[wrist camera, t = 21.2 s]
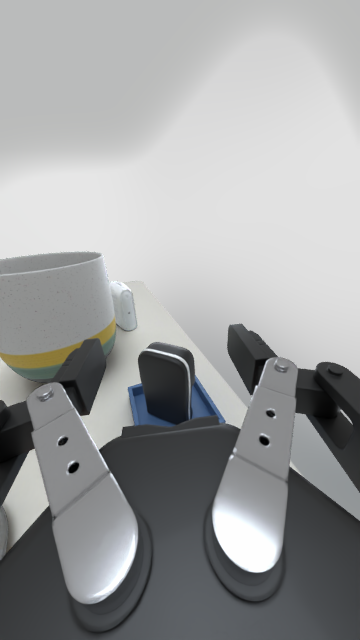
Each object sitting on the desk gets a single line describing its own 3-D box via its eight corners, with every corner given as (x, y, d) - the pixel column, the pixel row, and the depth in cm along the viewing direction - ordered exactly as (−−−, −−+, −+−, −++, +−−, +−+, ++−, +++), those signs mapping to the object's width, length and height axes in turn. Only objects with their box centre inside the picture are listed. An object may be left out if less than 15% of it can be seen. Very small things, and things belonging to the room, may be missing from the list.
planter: (142, 366, 40) (124, 257, 30) (27, 431, 28) (-61, 287, 19) (102, 333, 53) (80, 249, 43) (12, 368, 41) (-45, 264, 32)
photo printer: (140, 327, 55) (133, 284, 49) (125, 333, 52) (117, 288, 47) (123, 316, 62) (116, 277, 56) (110, 320, 60) (101, 280, 54)
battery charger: (198, 409, 30) (198, 345, 24) (188, 431, 27) (185, 364, 21) (158, 395, 32) (150, 335, 27) (145, 413, 29) (133, 350, 24)
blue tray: (224, 432, 27) (225, 420, 26) (143, 466, 23) (140, 455, 22) (191, 378, 36) (191, 368, 35) (129, 397, 33) (127, 387, 32)
